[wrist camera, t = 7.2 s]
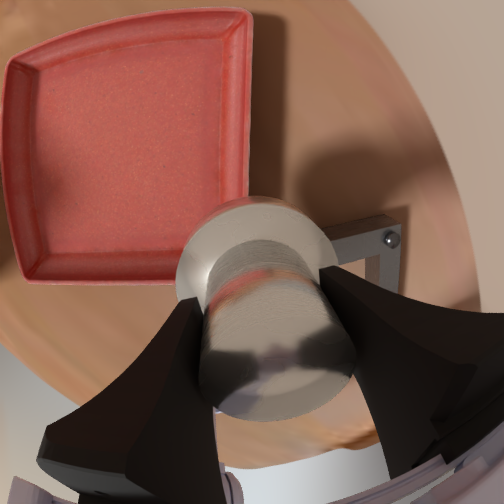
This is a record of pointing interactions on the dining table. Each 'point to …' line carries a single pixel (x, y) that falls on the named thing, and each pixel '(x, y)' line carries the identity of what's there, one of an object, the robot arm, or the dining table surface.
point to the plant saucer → (124, 142)
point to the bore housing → (370, 248)
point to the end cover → (264, 310)
